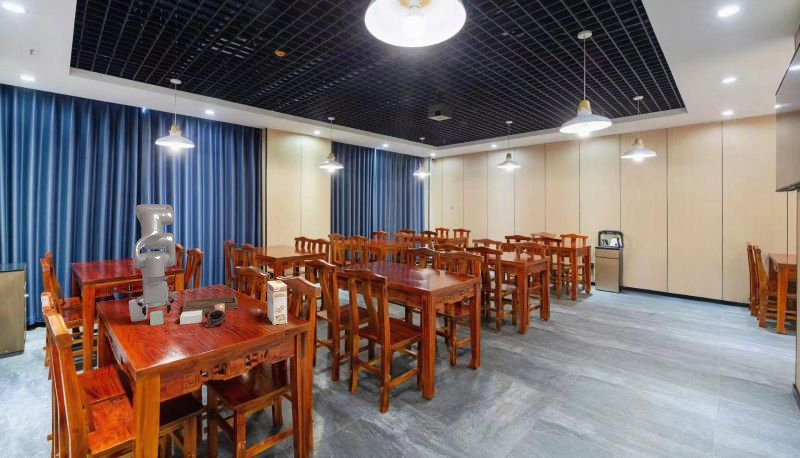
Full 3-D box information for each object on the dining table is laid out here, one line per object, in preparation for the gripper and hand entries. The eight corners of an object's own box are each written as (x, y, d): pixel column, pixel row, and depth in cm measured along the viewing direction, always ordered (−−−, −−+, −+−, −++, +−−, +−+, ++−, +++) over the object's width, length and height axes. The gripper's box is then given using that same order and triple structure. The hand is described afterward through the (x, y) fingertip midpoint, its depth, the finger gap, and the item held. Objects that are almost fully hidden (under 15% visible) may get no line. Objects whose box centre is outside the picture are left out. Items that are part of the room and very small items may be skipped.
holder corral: (184, 307, 207) (184, 301, 207) (236, 301, 220) (235, 295, 220) (182, 315, 192) (182, 308, 192) (237, 308, 205) (237, 302, 205)
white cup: (138, 322, 180) (137, 302, 179) (125, 321, 181) (124, 301, 181) (152, 317, 187) (151, 298, 187) (139, 316, 189) (138, 298, 188)
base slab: (182, 319, 185) (182, 312, 185) (202, 317, 189) (202, 310, 189) (180, 325, 177) (180, 317, 177) (200, 322, 181) (200, 315, 181)
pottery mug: (232, 322, 183) (230, 311, 178) (219, 336, 175) (216, 324, 170) (211, 315, 185) (209, 303, 180) (198, 328, 177) (195, 316, 172)
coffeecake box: (287, 323, 180) (287, 285, 179) (273, 325, 177) (272, 286, 175) (281, 315, 193) (280, 279, 192) (267, 317, 189) (266, 281, 188)
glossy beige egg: (214, 312, 197) (214, 304, 196) (224, 311, 199) (224, 302, 199) (214, 315, 192) (214, 306, 192) (224, 314, 194) (224, 305, 194)
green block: (151, 322, 180) (151, 310, 179) (163, 321, 182) (163, 309, 182) (150, 325, 175) (150, 313, 175) (162, 324, 178) (162, 312, 177)
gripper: (176, 277, 185) (177, 309, 185) (135, 280, 176) (137, 314, 177) (175, 279, 178) (176, 313, 179) (132, 282, 170) (134, 318, 171)
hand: (156, 313), depth 178 cm, fingers open, 9 cm apart
